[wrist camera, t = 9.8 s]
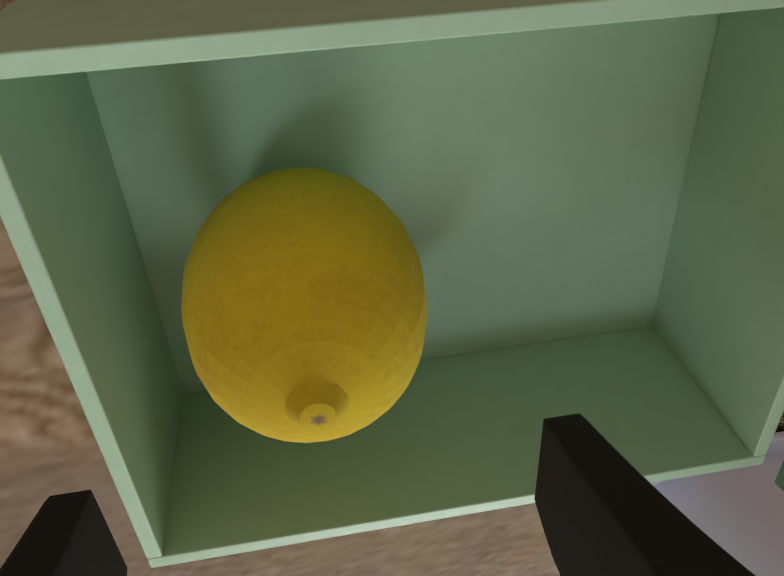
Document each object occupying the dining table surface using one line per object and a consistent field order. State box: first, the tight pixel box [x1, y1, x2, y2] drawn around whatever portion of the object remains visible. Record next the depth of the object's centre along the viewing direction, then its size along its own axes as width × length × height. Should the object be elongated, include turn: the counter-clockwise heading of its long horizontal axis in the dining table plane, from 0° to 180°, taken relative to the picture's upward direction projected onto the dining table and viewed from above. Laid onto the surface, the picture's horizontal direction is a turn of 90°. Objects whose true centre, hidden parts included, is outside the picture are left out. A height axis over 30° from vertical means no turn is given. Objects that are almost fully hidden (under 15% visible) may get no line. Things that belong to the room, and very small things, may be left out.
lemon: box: [181, 167, 427, 443], centre depth 16 cm, size 6×6×8 cm
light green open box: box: [0, 0, 784, 568], centre depth 17 cm, size 17×13×6 cm
